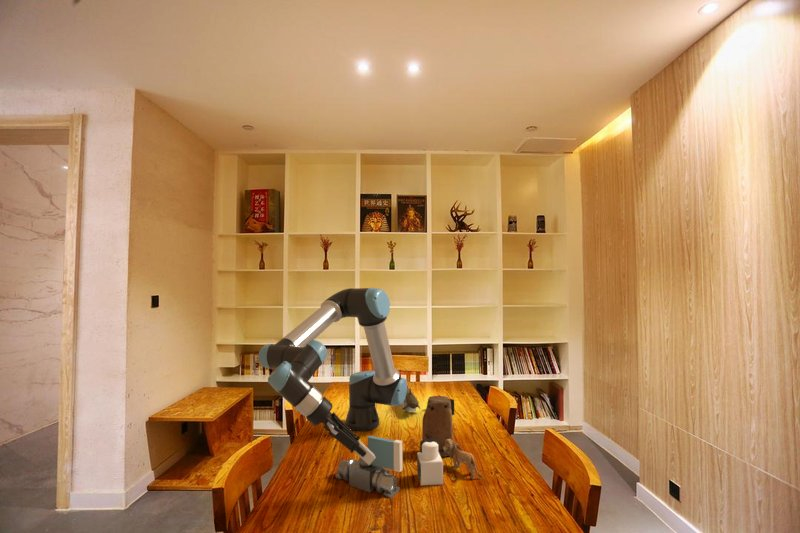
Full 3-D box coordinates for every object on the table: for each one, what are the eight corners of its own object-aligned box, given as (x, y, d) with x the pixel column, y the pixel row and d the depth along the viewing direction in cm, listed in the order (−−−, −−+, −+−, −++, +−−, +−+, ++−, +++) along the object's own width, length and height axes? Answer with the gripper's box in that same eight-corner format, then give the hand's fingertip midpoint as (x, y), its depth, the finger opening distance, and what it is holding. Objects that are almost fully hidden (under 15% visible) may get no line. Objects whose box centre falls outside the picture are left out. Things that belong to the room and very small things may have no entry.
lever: (356, 464, 114) (356, 436, 114) (364, 458, 118) (364, 431, 118) (397, 474, 107) (397, 444, 108) (404, 468, 111) (404, 439, 112)
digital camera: (456, 414, 177) (456, 399, 177) (448, 416, 174) (448, 401, 174) (441, 408, 185) (440, 394, 185) (433, 411, 182) (433, 396, 182)
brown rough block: (450, 448, 139) (449, 394, 140) (454, 457, 131) (453, 400, 132) (421, 449, 138) (421, 395, 139) (424, 458, 131) (423, 401, 132)
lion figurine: (440, 467, 125) (440, 439, 125) (449, 461, 128) (449, 435, 129) (478, 482, 114) (477, 452, 115) (487, 476, 118) (486, 447, 119)
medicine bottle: (417, 474, 120) (416, 436, 120) (438, 473, 120) (438, 435, 121) (420, 486, 113) (419, 446, 113) (443, 484, 113) (442, 444, 114)
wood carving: (408, 397, 205) (408, 377, 205) (425, 419, 170) (424, 394, 171) (393, 398, 203) (392, 378, 204) (406, 420, 169) (406, 395, 169)
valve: (333, 481, 117) (333, 459, 118) (347, 472, 123) (347, 451, 123) (388, 502, 105) (388, 478, 106) (401, 490, 111) (401, 468, 112)
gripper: (305, 408, 112) (360, 459, 114) (303, 425, 98) (365, 482, 101) (323, 390, 113) (377, 440, 116) (324, 403, 100) (384, 460, 102)
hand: (371, 459), depth 108 cm, fingers closed
